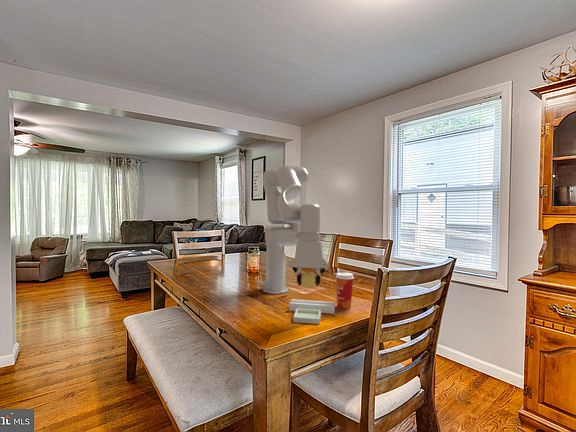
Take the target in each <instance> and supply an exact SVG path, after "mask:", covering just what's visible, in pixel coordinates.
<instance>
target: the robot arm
mask: <svg viewBox="0 0 576 432" xmlns="http://www.w3.org/2000/svg"><path fill="white" fill-rule="evenodd" d="M308 180H309V173H308V171H307V169H306V168H305V167H303V166H296V165H295V166H294V165H283V166H280V167H279V168H278V169H277V168H274V169H273V168H272V169H266V170H265V171H264V172H263V175H262V185H263V189H264V192H265V196H266V212H267V221H268V223H269V224H271V225H287V226H272V227H269V228H267V229H266V230H265V233H264V240H265V247H266V266H265V267H266V269H265V271H266V273H265V280H264V281H260V280H258V281H257V285H258V286H259V287H262V291H263V293H267V294H271V295H273V294H274V295H276V294H277V295H279V294H280V295H281V294H285V293H287V292H289V288H288V287H287V286H286V261H287V260H286V253H285V251H284V250H283V249H282V247H295V255H294V258H293V259H292V260H291V261H290V262H288V267H290V269H292V271H293V272H294V274H296V283H297V284H298V286H301V285H302V283H301V276H302V273H301V271H302V269H311V270H312V269H313V270H315V271H316V275H315V276H316V284H315V287H319V285H321V275H322V274H324V273H325V272H326V271H327V270H328V269H330V263H328V262H327V260H326V259H325V258H323V257H324V256H323V255H324V251H323V245H322V244H323V243H322V241H321V240H320V238H321V237H320V236H321V235H320V233H321V232H320V231H321V230H320V228H321V207H320V206H319V204H316V203H309V204H308V203H289V202H290V201H292V200H294V199H296V198H297V197H299V196H300V195H301V194H302V190H303V188H302V187H303V186H304V185H306V184H307V183H308ZM279 188H280V189H281V190H280V189H279ZM323 265H324V267H323Z"/></svg>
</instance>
